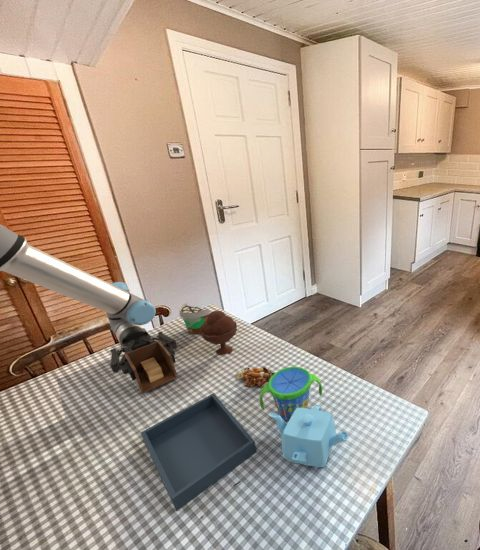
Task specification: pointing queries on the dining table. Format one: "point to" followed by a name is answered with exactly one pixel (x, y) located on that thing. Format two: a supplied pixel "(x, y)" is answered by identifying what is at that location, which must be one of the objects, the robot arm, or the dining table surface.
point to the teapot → (308, 436)
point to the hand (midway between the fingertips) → (153, 367)
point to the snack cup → (290, 390)
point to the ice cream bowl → (219, 331)
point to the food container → (194, 318)
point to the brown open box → (162, 359)
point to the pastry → (255, 376)
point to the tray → (197, 448)
